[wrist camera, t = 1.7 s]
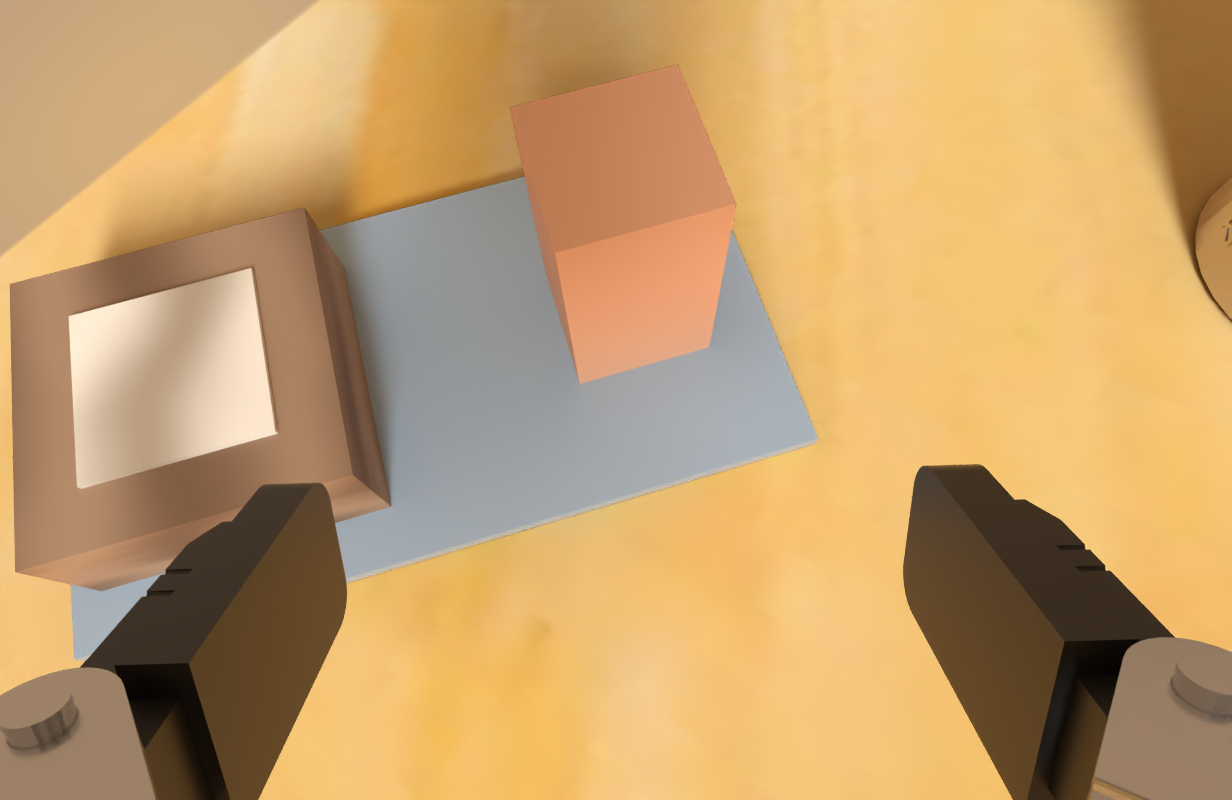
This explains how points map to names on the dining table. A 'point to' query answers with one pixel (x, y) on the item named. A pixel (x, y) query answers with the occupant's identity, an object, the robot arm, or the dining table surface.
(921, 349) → the dining table surface
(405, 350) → the board
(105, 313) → the walnut foundation
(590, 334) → the terracotta block
